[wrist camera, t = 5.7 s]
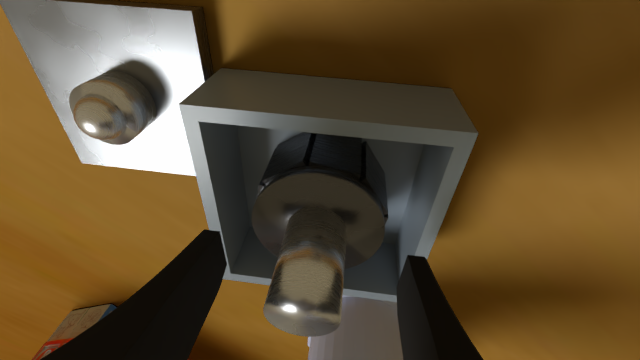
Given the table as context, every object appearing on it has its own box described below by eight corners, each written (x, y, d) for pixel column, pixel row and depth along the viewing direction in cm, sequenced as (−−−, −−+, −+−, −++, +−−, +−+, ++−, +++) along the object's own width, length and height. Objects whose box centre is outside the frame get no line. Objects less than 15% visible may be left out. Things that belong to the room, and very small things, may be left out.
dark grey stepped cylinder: (398, 147, 15) (422, 290, 9) (361, 228, 18) (359, 369, 12) (280, 116, 14) (218, 240, 8) (265, 204, 18) (214, 336, 12)
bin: (401, 245, 19) (408, 303, 16) (244, 226, 20) (221, 278, 17) (451, 88, 13) (478, 133, 10) (221, 68, 14) (178, 104, 11)
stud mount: (228, 168, 17) (201, 212, 14) (94, 153, 18) (42, 192, 15) (202, 7, 12) (154, 25, 10) (18, -7, 13) (-79, 6, 10)
